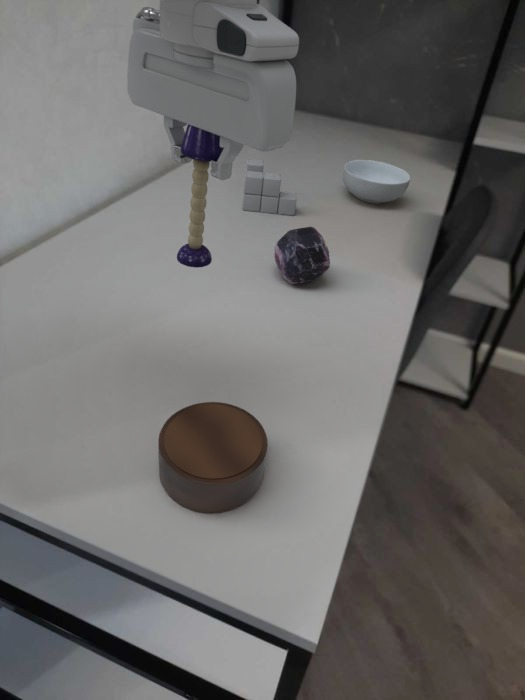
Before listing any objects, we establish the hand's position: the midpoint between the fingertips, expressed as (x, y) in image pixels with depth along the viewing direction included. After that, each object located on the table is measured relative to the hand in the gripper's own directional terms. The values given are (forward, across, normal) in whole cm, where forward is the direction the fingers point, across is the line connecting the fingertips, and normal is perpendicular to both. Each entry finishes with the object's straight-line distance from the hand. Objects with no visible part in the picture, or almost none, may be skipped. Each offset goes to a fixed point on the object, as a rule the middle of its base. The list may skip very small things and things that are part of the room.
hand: (201, 169), depth 57 cm
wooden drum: (+28, +14, -11) cm, 34 cm away
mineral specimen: (+28, -5, +33) cm, 44 cm away
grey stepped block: (+28, -31, +56) cm, 70 cm away
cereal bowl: (+28, -17, +81) cm, 87 cm away
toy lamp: (+11, 0, 0) cm, 11 cm away
